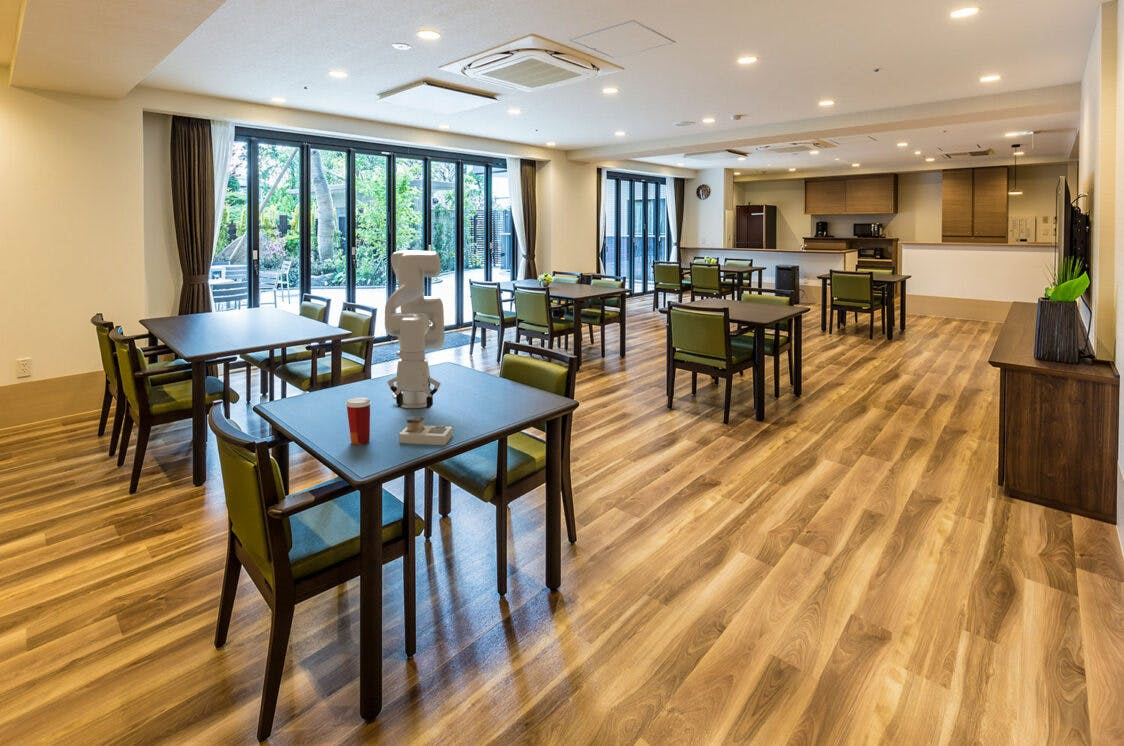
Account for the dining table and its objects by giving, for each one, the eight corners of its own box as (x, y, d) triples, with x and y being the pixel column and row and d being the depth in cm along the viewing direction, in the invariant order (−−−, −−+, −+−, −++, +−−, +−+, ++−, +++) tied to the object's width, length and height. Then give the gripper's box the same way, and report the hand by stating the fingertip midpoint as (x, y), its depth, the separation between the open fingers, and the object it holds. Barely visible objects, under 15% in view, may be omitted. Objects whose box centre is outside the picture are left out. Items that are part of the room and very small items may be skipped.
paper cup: (375, 438, 202) (373, 397, 199) (369, 446, 195) (367, 403, 192) (351, 438, 202) (349, 396, 199) (344, 446, 194) (341, 403, 191)
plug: (407, 440, 201) (406, 419, 199) (411, 436, 205) (411, 416, 203) (419, 440, 200) (419, 420, 199) (423, 437, 204) (423, 416, 203)
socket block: (399, 442, 198) (398, 433, 197) (409, 433, 208) (409, 423, 207) (444, 445, 197) (444, 435, 196) (452, 435, 207) (452, 425, 206)
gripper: (382, 357, 194) (384, 408, 198) (436, 359, 192) (437, 411, 197) (390, 351, 201) (393, 402, 205) (442, 354, 200) (443, 404, 204)
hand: (414, 406), depth 201 cm, fingers open, 9 cm apart
